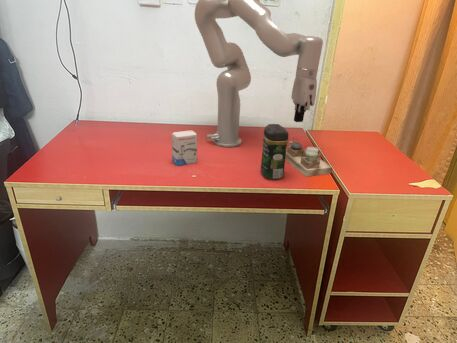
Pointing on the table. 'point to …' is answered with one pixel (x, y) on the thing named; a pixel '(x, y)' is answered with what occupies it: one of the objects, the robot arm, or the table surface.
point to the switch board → (307, 163)
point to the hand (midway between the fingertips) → (298, 121)
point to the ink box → (184, 147)
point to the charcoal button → (296, 146)
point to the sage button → (311, 155)
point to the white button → (312, 148)
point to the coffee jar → (274, 151)
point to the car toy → (291, 142)
